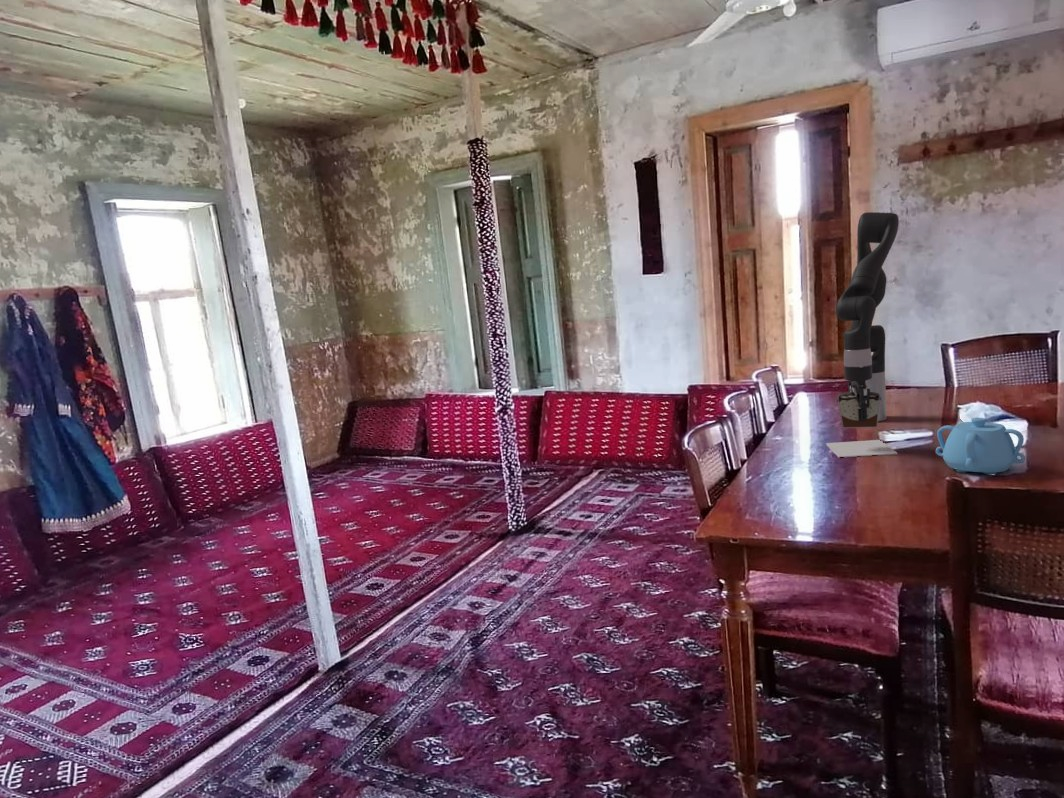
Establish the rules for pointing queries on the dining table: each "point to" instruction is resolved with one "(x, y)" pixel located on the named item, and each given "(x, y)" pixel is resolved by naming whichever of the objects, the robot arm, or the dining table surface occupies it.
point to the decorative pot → (980, 447)
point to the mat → (861, 448)
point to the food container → (851, 411)
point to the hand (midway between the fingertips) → (859, 418)
